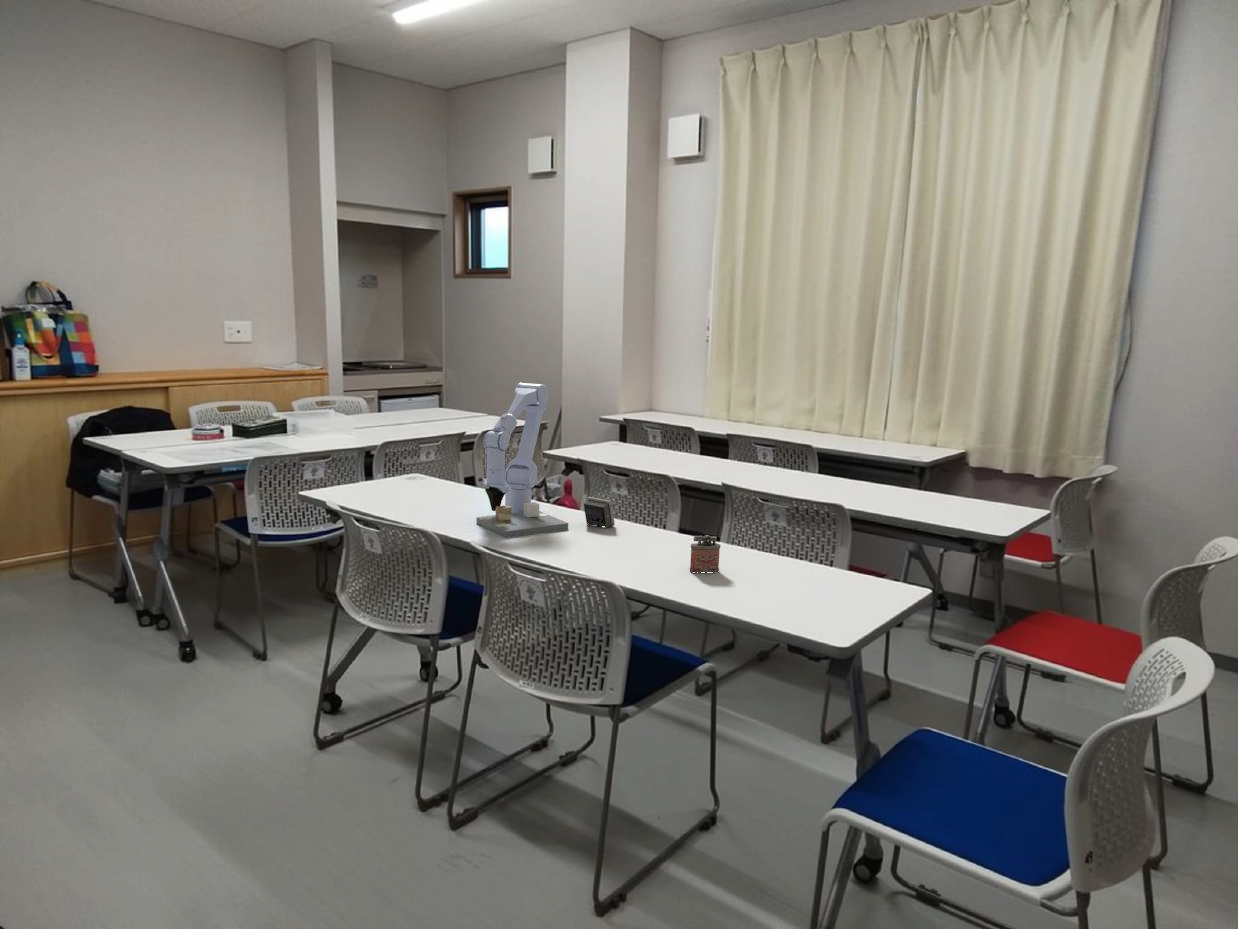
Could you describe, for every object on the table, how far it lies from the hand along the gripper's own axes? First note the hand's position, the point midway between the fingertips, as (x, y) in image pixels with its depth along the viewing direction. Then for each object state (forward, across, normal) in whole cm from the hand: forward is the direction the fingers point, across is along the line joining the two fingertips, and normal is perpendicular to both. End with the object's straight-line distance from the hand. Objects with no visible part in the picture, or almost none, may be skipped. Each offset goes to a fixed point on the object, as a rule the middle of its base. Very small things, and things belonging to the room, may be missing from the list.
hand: (495, 510), depth 266 cm
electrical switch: (+4, +20, +27) cm, 34 cm away
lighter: (+4, +74, +25) cm, 78 cm away
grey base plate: (+4, +9, +5) cm, 11 cm away
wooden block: (+2, +6, 0) cm, 6 cm away
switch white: (+2, +6, +10) cm, 12 cm away
